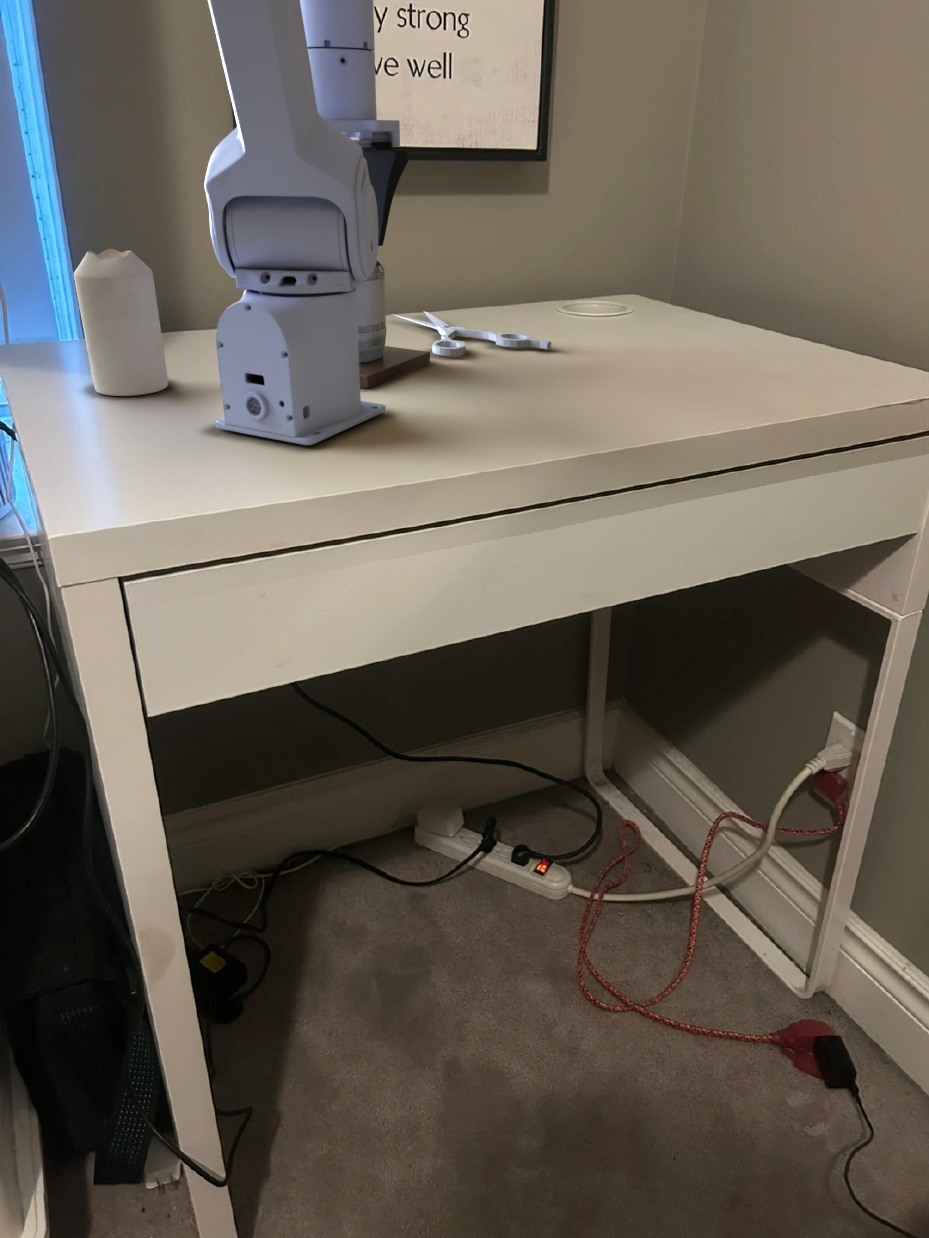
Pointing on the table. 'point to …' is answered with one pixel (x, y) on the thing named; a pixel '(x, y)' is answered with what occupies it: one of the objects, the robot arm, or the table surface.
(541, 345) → the scissors
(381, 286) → the camera lens
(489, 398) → the table surface
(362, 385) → the walnut board
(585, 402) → the table surface
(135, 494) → the table surface
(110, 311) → the candle
